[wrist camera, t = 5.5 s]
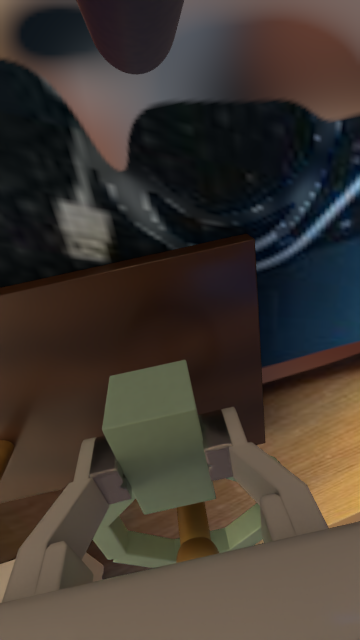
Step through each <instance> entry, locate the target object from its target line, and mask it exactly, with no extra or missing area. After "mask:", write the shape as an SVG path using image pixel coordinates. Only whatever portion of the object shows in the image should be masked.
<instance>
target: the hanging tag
mask: <svg viewBox="0 0 360 640" xmlns="http://www.w3.org/2000/svg"><path fill="white" fill-rule="evenodd" d="M102 431H103V433H104V435H105V437H106V439H107V441H108V443H109V445H110V447H111V449H112V451H113V453H114V455H115V457H116V459H117V460H118V461H119V463H120V465H121V467H122V469H123V473H124V475H125V477H126V478H127V479H128V481H129V483H130V485H131V487H132V499H129V500H125V501H122V502H118V503H114V504H110V505H109V508H108V510H107V512H106V514H105V516H104V518H103V520H102V522H101V524H100V526H99V528H98V529H97V531H96V533H95V535H94V537H93V539H92V540H93V541H94V542H95V543H96V545H97V546H98V547H99V549H100V550H101V551H102V553H103V554H104V555H105V557H106V558H107V559H108V560H111V559H113V562H115V563H122V564H129V565H136V566H143V567H150V568H157V567H161V566H166V565H170V564H174V563H176V559H177V554H178V550H179V548H180V538H178V539H170V538H164V537H159V536H154V535H149V534H144V533H138V532H133V531H128V530H127V528H126V527H125V525H124V523H123V522H122V520H121V518H120V517H119V515H120V514H121V513H122V512H123V511H124V510H125V509H126V508H127V507H128V506H129V505H130V504H131V503H132V502H133V501H134V500H135V499H137V501H138V503H139V505H140V507H141V509H142V511H143V513H144V514H150V513H154V512H159V511H163V510H168V509H172V508H177V507H181V506H186V505H190V504H195V503H199V502H204V501H208V500H213V499H216V496H215V491H214V487H213V482H212V481H211V478H210V474H209V470H208V466H207V461H206V457H205V452H204V448H203V443H202V441H203V436H202V432H201V427H200V422H199V418H198V413H197V409H196V404H195V399H194V395H193V390H192V386H191V381H190V376H189V372H188V367H187V363H186V360H181V361H177V362H172V363H167V364H163V365H158V366H154V367H149V368H145V369H140V370H135V371H131V372H126V373H122V374H117V375H113V376H110V378H109V384H108V391H107V398H106V405H105V412H104V418H103V425H102ZM269 456H270V455H269ZM270 457H272V456H270ZM272 458H273V459H274V460H276V461H277V459H276V458H275V457H272ZM277 462H278V463H279V464H280V462H279V461H277ZM227 479H230V480H233V481H236V480H235V479H234V478H233V477H229V478H227ZM236 482H237V481H236ZM210 536H211V541H212V542H213V543H214V544H215V545H216V547H217V549H218V551H219V553H223V552H227V551H232V550H236V549H240V548H245V547H249V546H253V545H255V544H256V543H258V542H259V541H261V540H262V539H263V538H262V531H261V516H260V506H259V505H258V503H256V504H255V505H254V506H253V507H251V508H250V509H249V510H247V511H246V512H245V513H244V514H242V515H241V516H240V517H238V518H237V519H236V520H235V521H233V522H232V523H231V524H229V525H228V526H227V527H226V528H222V529H218V530H213V531H210Z"/></svg>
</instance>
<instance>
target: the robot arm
mask: <svg viewBox="0 0 360 640" xmlns="http://www.w3.org/2000/svg"><path fill="white" fill-rule="evenodd" d="M198 418H199V422H200V427H201V432H202V436H203V441H202V443H203V448H204V452H205V457H206V461H207V466H208V470H209V474H210V478H211V481H214V480H219V479H224V478H229V477H233V478H234V479H235V480H236V481H237V482H238V483H239V484H240V485H241V486H242V487H243V489H244V490H245V491H246V492H247V493H248V494H249V495H250V496H251V497H252V498H253V499H254V500H255V501H256V502H257V503H258V505H259V506H260V516H261V531H262V538H263V541H264V543H262V544H258V545H254V546H249V547H245V548H240V549H236V550H232V551H227V552H223V553H218V554H214V555H210V556H205V557H201V558H196V559H192V560H188V561H183V562H179V563H174V564H170V565H166V566H161V567H157V568H152V569H148V570H144V571H139V572H135V573H130V574H126V575H122V576H117V577H113V578H108V579H104V580H100V581H95V582H93V575H94V574H93V573H92V571H91V570H90V569H89V568H88V567H87V566H86V565H85V564H84V562H83V561H82V559H83V557H84V555H85V553H86V551H87V549H88V547H89V545H90V543H91V541H92V539H93V537H94V535H95V533H96V531H97V529H98V528H99V526H100V524H101V522H102V520H103V518H104V516H105V514H106V512H107V510H108V508H109V505H110V504H114V503H118V502H122V501H125V500H129V499H132V487H131V485H130V483H129V481H128V479H127V478H126V477H125V475H124V473H123V469H122V467H121V465H120V463H119V461H118V460H117V459H116V457H115V455H114V453H113V451H112V449H111V447H110V445H109V443H108V441H107V439H106V437H105V436H100V437H95V438H90V439H86V440H83V442H82V444H81V448H80V453H79V457H78V462H77V467H76V471H75V476H74V481H73V482H71V483H69V484H68V485H67V487H66V488H65V489H64V491H63V492H62V493H61V494H60V496H59V497H58V498H57V500H56V501H55V502H54V504H53V505H52V506H51V508H50V509H49V510H48V511H47V513H46V514H45V515H44V517H43V518H42V519H41V521H40V522H39V523H38V525H37V526H36V527H35V529H34V530H33V531H32V532H31V534H30V535H29V536H28V538H27V539H26V540H25V542H24V543H23V544H22V546H21V547H20V548H19V549H18V553H17V556H16V559H15V562H14V565H13V568H12V571H11V575H10V578H9V581H8V584H7V587H6V590H5V593H4V597H3V600H2V603H0V640H360V521H359V522H355V523H351V524H346V525H342V526H337V527H333V528H328V526H327V524H326V522H325V520H324V518H323V516H322V514H321V512H320V510H319V508H318V506H317V504H316V502H315V500H314V498H313V496H312V494H311V492H310V490H309V488H308V486H307V485H306V484H305V483H304V482H303V481H301V480H300V479H299V478H297V477H296V476H295V475H294V474H292V473H291V472H290V471H288V470H287V469H286V468H285V467H283V466H282V465H281V464H279V463H278V462H277V461H276V460H274V459H273V458H272V457H270V456H269V455H268V454H267V453H265V452H264V451H263V450H261V449H260V448H259V447H258V446H256V445H255V444H254V443H252V442H247V439H246V436H245V434H244V431H243V428H242V426H241V423H240V420H239V418H238V415H237V412H236V410H235V408H234V407H230V408H225V409H219V410H215V411H211V412H207V413H203V414H198Z"/></svg>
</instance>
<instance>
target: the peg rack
mask: <svg viewBox="0 0 360 640" xmlns="http://www.w3.org/2000/svg"><path fill="white" fill-rule="evenodd" d="M181 360H186V363H187V367H188V372H189V376H190V381H191V386H192V390H193V395H194V399H195V404H196V409H197V413H198V414H203V413H207V412H211V411H215V410H219V409H225V408H230V407H234V408H235V410H236V412H237V415H238V418H239V420H240V423H241V426H242V428H243V431H244V434H245V436H246V439H247V442H252V443H254V444H255V445H258V444H263V443H265V427H264V408H263V389H262V370H261V350H260V331H259V312H258V293H257V273H256V254H255V239H254V238H252V237H251V236H249V235H248V234H243V235H238V236H234V237H229V238H224V239H220V240H215V241H211V242H206V243H202V244H197V245H193V246H188V247H184V248H179V249H175V250H170V251H166V252H161V253H157V254H152V255H148V256H143V257H138V258H134V259H129V260H125V261H120V262H116V263H111V264H107V265H102V266H98V267H93V268H89V269H84V270H80V271H75V272H71V273H66V274H62V275H57V276H53V277H48V278H43V279H39V280H34V281H30V282H25V283H21V284H16V285H12V286H7V287H3V288H0V503H3V502H8V501H12V500H16V499H21V498H25V497H30V496H34V495H38V494H43V493H47V492H52V491H56V490H60V489H65V488H66V487H67V485H68V484H69V483H71V482H73V481H74V476H75V471H76V467H77V462H78V457H79V453H80V448H81V444H82V442H83V440H86V439H90V438H95V437H100V436H105V435H104V433H103V431H102V425H103V418H104V412H105V405H106V398H107V391H108V384H109V378H110V376H113V375H117V374H122V373H126V372H131V371H135V370H140V369H145V368H149V367H154V366H158V365H163V364H167V363H172V362H177V361H181ZM177 516H178V526H179V536H180V548H179V550H178V554H177V559H176V563H179V562H183V561H188V560H192V559H196V558H201V557H205V556H210V555H214V554H218V553H219V551H218V549H217V547H216V545H215V544H214V543H213V542H212V541H211V536H210V530H209V525H208V519H207V514H206V508H205V503H204V502H199V503H195V504H190V505H186V506H181V507H177Z"/></svg>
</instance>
